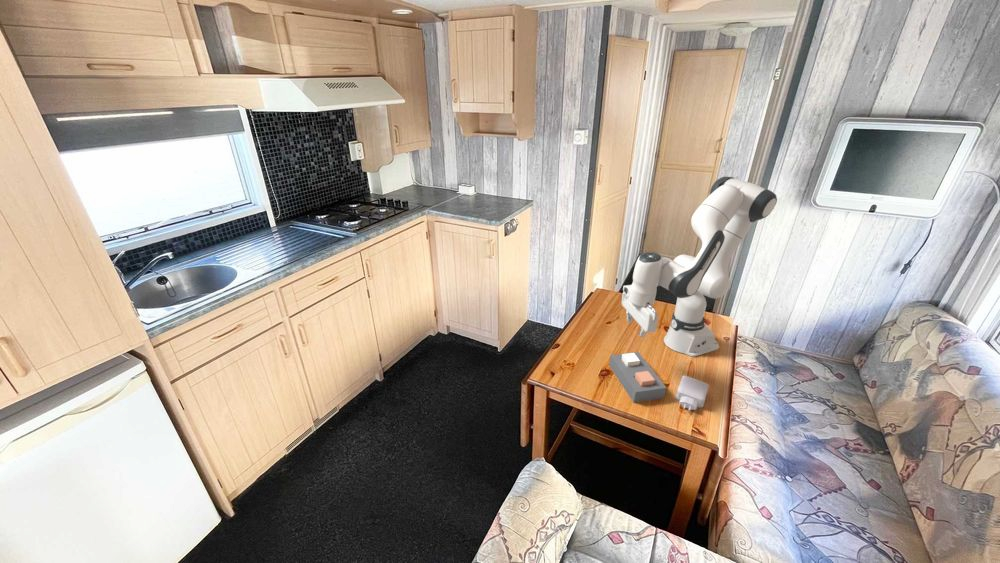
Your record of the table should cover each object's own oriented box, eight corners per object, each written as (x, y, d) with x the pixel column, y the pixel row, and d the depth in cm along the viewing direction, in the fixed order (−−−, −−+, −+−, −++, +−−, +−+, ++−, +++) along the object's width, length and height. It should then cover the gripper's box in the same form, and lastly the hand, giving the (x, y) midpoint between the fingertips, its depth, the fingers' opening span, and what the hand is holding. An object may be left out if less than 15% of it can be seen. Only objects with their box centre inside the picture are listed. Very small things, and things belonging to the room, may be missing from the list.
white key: (632, 358, 160) (633, 352, 159) (638, 366, 156) (640, 360, 154) (621, 360, 159) (622, 354, 158) (626, 368, 155) (628, 362, 153)
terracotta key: (646, 377, 150) (648, 370, 149) (653, 386, 146) (655, 379, 145) (634, 378, 150) (635, 372, 148) (640, 388, 145) (642, 381, 144)
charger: (671, 409, 142) (680, 384, 153) (699, 420, 138) (706, 393, 149) (674, 399, 140) (682, 374, 151) (702, 410, 135) (709, 383, 146)
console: (636, 361, 165) (638, 351, 162) (663, 397, 146) (666, 387, 144) (608, 365, 163) (610, 355, 160) (633, 402, 144) (635, 392, 142)
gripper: (665, 311, 135) (657, 344, 141) (636, 282, 153) (630, 313, 159) (648, 312, 134) (641, 346, 140) (621, 284, 152) (615, 314, 158)
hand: (635, 328), depth 150 cm, fingers open, 8 cm apart
